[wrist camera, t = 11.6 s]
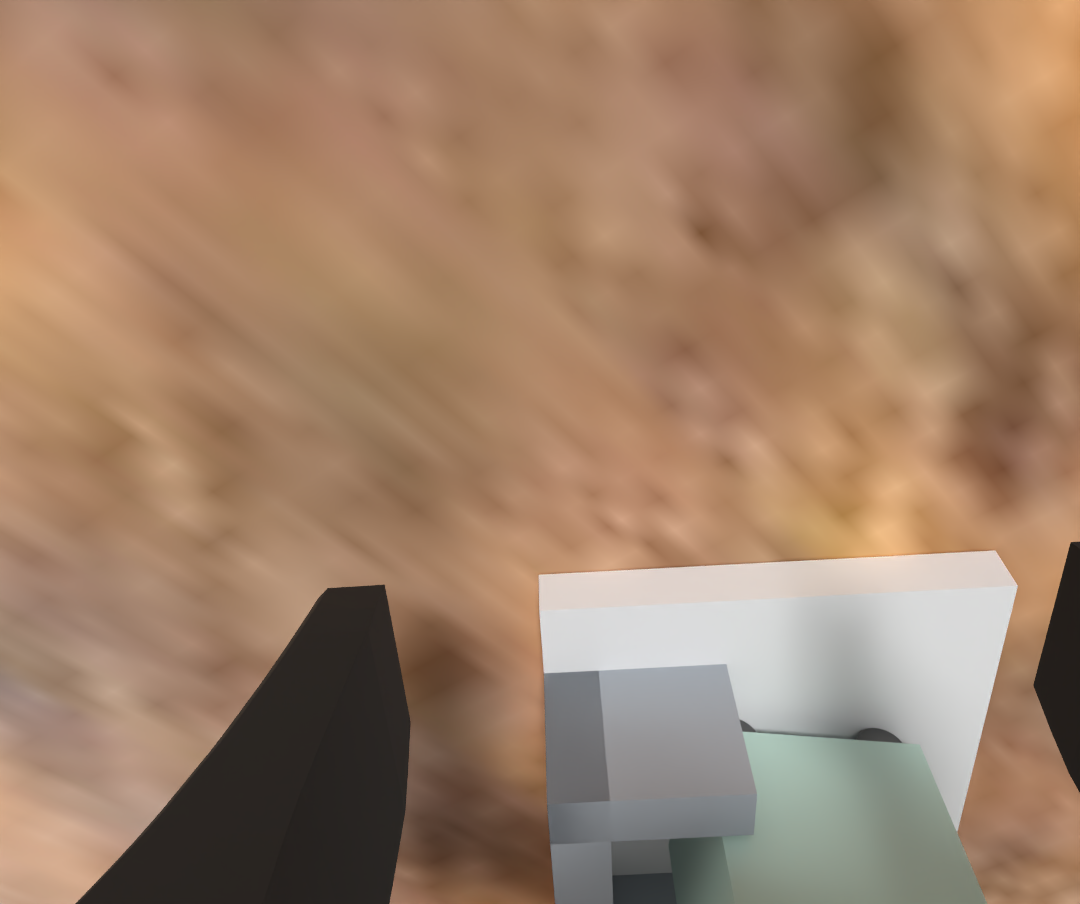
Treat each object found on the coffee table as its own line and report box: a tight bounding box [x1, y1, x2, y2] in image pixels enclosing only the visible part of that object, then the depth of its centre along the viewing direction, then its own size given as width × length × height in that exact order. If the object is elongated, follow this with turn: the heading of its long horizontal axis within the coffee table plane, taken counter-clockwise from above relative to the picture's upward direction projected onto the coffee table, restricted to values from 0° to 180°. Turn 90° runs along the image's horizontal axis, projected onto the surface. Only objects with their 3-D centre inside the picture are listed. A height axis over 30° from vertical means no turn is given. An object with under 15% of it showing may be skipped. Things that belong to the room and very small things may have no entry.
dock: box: [539, 551, 1018, 904], centre depth 24 cm, size 10×12×5 cm
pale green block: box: [668, 719, 987, 904], centre depth 22 cm, size 5×4×5 cm
